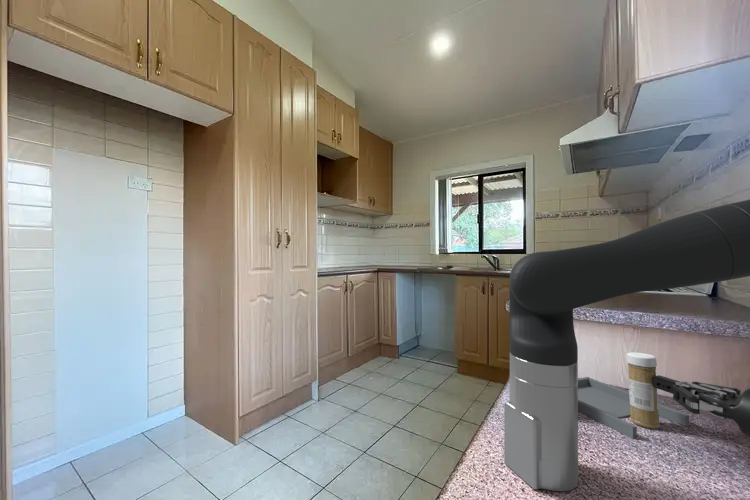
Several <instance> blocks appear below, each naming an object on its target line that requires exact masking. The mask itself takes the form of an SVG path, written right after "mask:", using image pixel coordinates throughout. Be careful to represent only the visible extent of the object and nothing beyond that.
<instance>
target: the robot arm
mask: <svg viewBox="0 0 750 500" xmlns="http://www.w3.org/2000/svg"><path fill="white" fill-rule="evenodd" d="M748 277H750V199H746V200H741V201H736V202H732V203H726V204H723V205H719V206H715V207H711V208H706V209H704V210H698V211H695V212H691V213H688V214H684V215H680V216H677V217H673V218H671V219H668V220H664V221H661V222H659V223H656V224H653V225H650V226H648V227H646V228H645V227H644V228H643V229H640V230H637V231H635V232H632V233H629V234H628V235H626V236H622V237H619V238H617V239H613V240H609V241H606V242H604V241H603V242H601V243H596V244H590V245H583V246H579V247H571V248H564V249H559V250H558V249H557V250H548V251H538V252H532V253H529V254H527V255H524V256H523V257H521V258H520V259H519V260H517V261H516V262H515V263H514V265H513V266H512V268H511V271H510V273H509V280H508V281H509V282H508V283H509V287H508V288H509V291H508V294H509V296H508V297H509V300H508V301H509V304H508V305H509V306H508V307H509V321H508V322H509V401H505V402H504V406H503V407H504V408H503V409H504V410H503V411H504V412H503V413H504V414H503V415H504V419H503V420H504V421H503V424H504V425H503V426H504V428H503V429H504V432H503V433H504V435H503V440H504V441H503V442H504V444H503V448H504V450H503V453H504V455H503V456H504V457H503V460H504V464H505V465H506V466H507V467H508V468H509V469H511V471H513V472H514V474H516V475H517V476H518V477H520V478H521V479H522V480H523V482H525V483H527V484H528V485H529V487H531V488H532V489H534V490H539V489H542V490H548V491H554V492H568V491H571V490H573V489H575V488H576V487H577V486H578V484H579V412H578V378H579V377H578V376H579V374H578V373H579V372H578V371H579V369H578V368H579V365H578V360H579V358H578V357H579V356H578V353H579V352H578V351H579V350H578V342H577V337H576V333H575V326H574V310H575V309H577V308H581V307H585V306H587V305H591V304H596V303H598V302H602V301H603V302H604V301H606V300H609V299H613V298H616V297H618V298H619V297H621V296H625V295H630V294H635V293H643V292H652V291H660V290H661V291H663V290H672V289H678V288H685V287H687V288H688V287H691V286H692V287H693V286H699V285H700V286H701V285H706V284H712V283H719V282H720V283H721V282H726V281H731V280H737V279H741V278H748ZM652 385H653V387H655V388H657V390H661V391H663V392H665V393H666V392H667V393H669V394H672V395H673V396H672V399H673V400H674V401H675V402H676V403H678V404H679V405H681V406H682V408H685V410H687V411H689V413H692V414H695V415H696V414H697V415H700V414H701V413H700V411H701V410H702V411H705V412H707V413H709V414H711V416H715V417H717V418H719V419H724V420H727V419H729V420H733V421H734V422H735V423H736V424H737V425H738V428H739V430H740V431H741V433H742V434H743V435H745V436H746V437H748V438H750V388H747V389H745V390H743V392H742V391H741V389H739V388H737V387H730V386H729V387H728V386H722V385H718V384H712V383H706V382H705V383H704V382H699V381H691V382H689V381H686V380H684V381H683V380H682V381H680V380H677V379H674V378H669V377H666V376H663V375H656V376H653V377H652ZM741 392H742V393H741Z"/></svg>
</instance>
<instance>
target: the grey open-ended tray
mask: <svg viewBox="0 0 750 500" xmlns="http://www.w3.org/2000/svg"><path fill="white" fill-rule="evenodd" d="M658 407H659V409H658V415H659V417H662V418H665V419H668V420H669V421H672V422H675V423H677V424H680V425H683V426H685V427H688V426H690V414H687V413H684V412H682V411H680V410H677V409H674V408H671V407H669V406H666V405H663V404H660V403H658ZM578 413H580V414H583V415H585V416H587V417H588V418H591V419H592V420H595V421H597V422H598V423H601V424H602V425H605V426H606V427H609V428H610V429H613V430H615V431H617V432H619V433H620V434H623V435H625V436H627V437H629V438H630V439H637V437H638V436H637V435H638V431H637V430H638V429H637V427H638V426H637V425H636V426H635V424H631V423H629V422H627V421H626V420H623V418H628V417H629V418H630V416H631V410H630V398H629V391H626V390H622V389H620V388H618V387H616V386H615V387H614V386H613V385H609V384H607V383H605V382H601V381H599V380H596V379H594V378H591V377H589V376H585V377H578Z"/></svg>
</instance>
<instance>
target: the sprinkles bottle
mask: <svg viewBox="0 0 750 500" xmlns="http://www.w3.org/2000/svg"><path fill="white" fill-rule="evenodd" d="M626 363H627V368H628V392H629V398H630V410H631V416H629V419H630V421H631V422H632V423H633V424H634V425H636V426H640V427H643V428H648V429H658V428H660V426H661V425H660V418H659V417H660V415H658V409H659V407H658V404H659V396H658V395H659V394H658V389H657V388H655V387H653V385H652V377H653V376H657V372H656V369H657V366H658V364H657V357H656V356H655V355H653V354H649V353H643V352H633V351H631V352H627V353H626Z"/></svg>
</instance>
